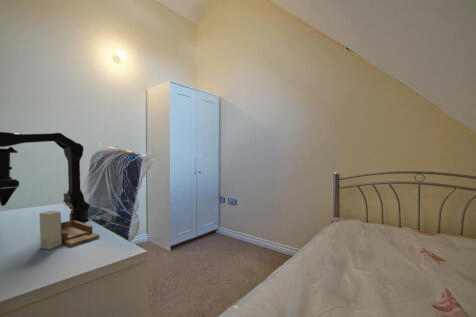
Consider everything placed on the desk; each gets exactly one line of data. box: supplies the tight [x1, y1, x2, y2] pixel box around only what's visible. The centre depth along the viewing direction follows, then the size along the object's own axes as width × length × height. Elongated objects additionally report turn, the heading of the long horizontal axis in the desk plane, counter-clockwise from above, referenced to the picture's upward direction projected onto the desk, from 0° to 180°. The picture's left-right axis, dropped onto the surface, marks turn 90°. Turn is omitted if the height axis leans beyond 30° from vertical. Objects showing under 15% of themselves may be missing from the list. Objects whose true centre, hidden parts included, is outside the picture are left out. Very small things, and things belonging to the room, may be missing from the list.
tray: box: [61, 220, 100, 248], centre depth 88 cm, size 10×21×4 cm, turn 61°
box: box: [39, 210, 63, 250], centre depth 79 cm, size 5×4×13 cm
